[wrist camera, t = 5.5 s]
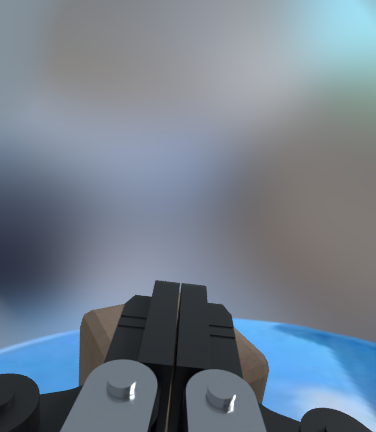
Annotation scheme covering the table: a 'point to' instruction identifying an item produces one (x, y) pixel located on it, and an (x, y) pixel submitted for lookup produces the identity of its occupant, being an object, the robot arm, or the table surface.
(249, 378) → the block
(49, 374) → the table surface
